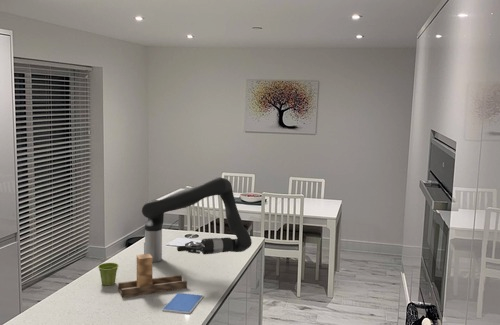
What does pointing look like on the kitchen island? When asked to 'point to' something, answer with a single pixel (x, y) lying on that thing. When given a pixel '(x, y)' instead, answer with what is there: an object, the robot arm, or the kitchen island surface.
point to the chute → (152, 286)
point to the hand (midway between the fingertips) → (177, 248)
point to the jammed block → (144, 270)
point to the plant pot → (108, 273)
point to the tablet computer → (182, 303)
